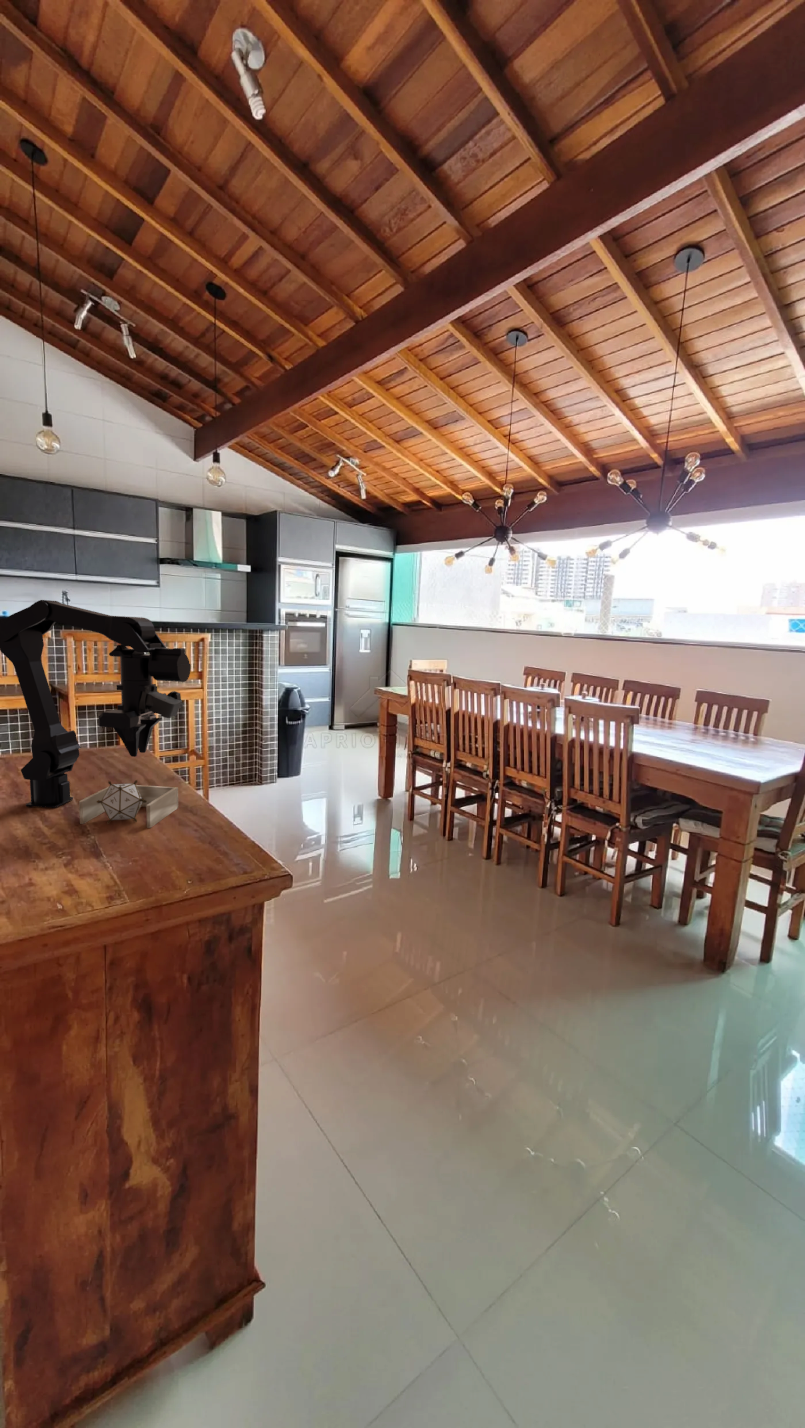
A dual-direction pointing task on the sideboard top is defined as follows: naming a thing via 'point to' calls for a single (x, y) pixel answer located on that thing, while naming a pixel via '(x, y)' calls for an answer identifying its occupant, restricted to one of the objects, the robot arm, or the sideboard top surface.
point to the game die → (122, 801)
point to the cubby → (157, 805)
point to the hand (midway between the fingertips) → (138, 754)
